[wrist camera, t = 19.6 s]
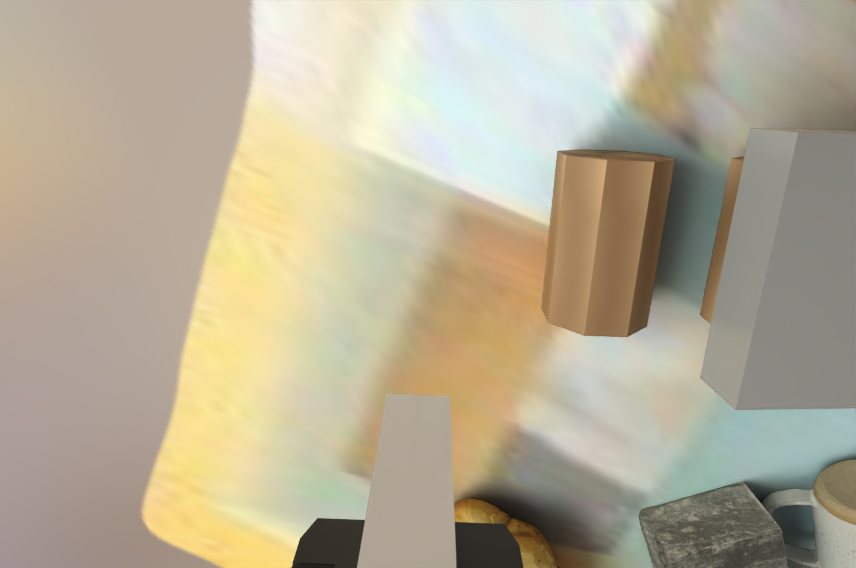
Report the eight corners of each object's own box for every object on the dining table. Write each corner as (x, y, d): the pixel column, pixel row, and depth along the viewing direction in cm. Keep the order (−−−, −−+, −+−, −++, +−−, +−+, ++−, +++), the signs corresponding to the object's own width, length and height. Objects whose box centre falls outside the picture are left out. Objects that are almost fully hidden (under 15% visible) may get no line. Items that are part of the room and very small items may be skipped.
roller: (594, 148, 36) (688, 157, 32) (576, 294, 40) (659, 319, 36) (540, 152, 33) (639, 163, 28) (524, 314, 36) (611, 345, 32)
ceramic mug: (890, 439, 41) (983, 514, 34) (899, 525, 44) (988, 612, 37) (742, 476, 43) (801, 555, 36) (759, 557, 45) (818, 647, 38)
